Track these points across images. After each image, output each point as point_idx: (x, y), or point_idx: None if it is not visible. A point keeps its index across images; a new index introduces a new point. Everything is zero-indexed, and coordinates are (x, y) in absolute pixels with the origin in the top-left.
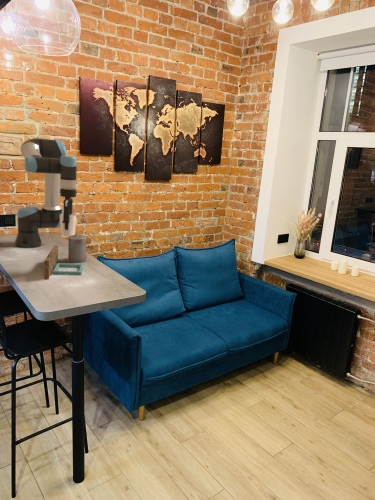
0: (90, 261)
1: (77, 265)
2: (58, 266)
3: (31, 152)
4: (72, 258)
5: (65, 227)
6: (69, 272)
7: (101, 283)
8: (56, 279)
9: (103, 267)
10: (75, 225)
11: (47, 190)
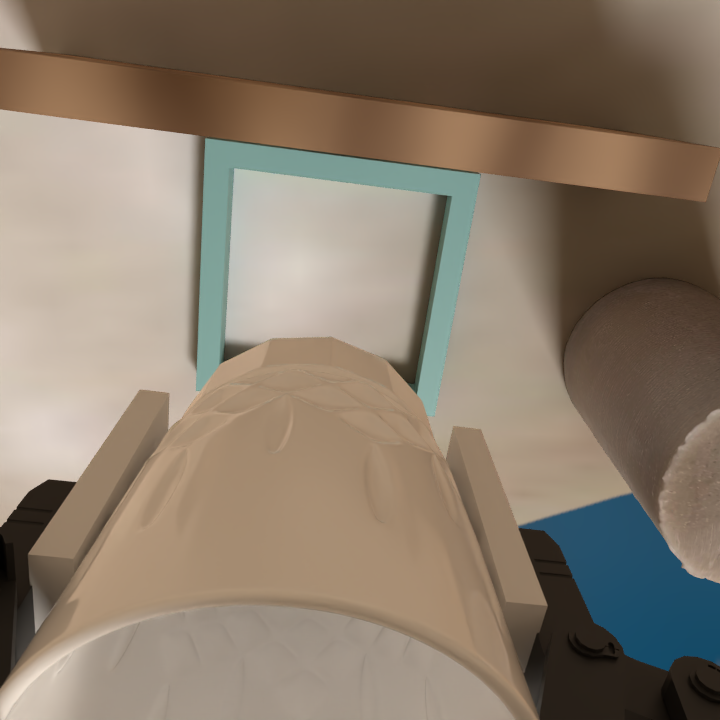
0: (587, 465)
1: (420, 362)
2: (392, 187)
3: None
4: (595, 328)
5: (17, 521)
6: (200, 292)
7: (11, 511)
8: (61, 172)
9: None
10: (271, 696)
11: None
